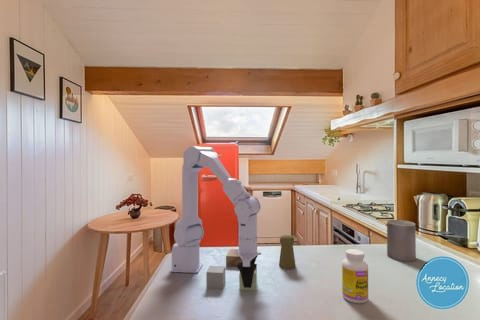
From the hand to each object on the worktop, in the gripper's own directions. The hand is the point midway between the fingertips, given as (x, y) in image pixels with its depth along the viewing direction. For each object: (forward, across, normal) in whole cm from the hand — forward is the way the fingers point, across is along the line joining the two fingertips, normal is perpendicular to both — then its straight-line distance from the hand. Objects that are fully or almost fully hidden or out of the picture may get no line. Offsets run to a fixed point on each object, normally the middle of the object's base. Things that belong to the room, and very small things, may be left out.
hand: (248, 281), depth 83 cm
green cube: (+2, 0, 0) cm, 2 cm away
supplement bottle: (+2, -5, -30) cm, 30 cm away
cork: (+2, +17, -13) cm, 21 cm away
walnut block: (+2, +19, +5) cm, 20 cm away
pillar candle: (+2, +29, -58) cm, 65 cm away
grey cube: (+2, 0, +10) cm, 10 cm away
